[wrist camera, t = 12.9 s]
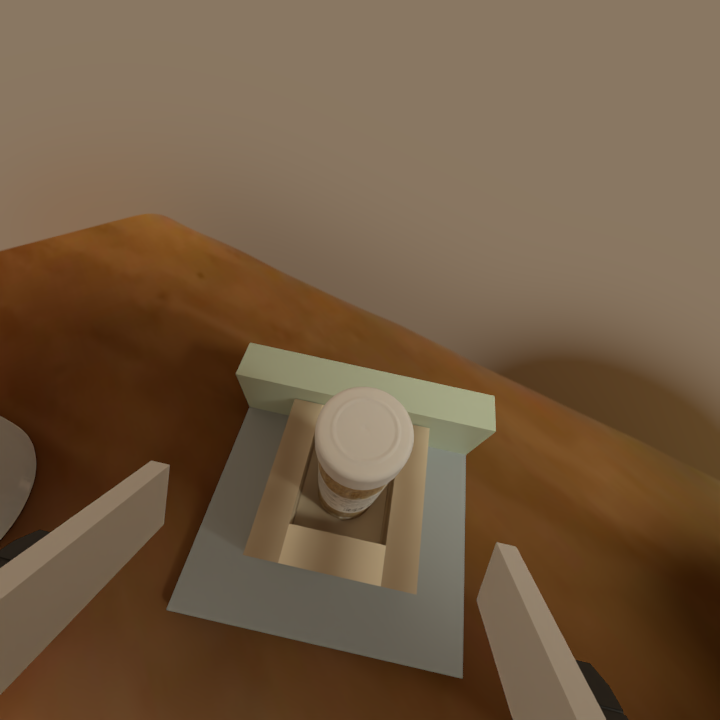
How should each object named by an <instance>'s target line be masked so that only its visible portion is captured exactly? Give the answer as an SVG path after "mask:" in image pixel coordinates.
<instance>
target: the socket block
mask: <svg viewBox="0 0 720 720" xmlns="http://www.w3.org/2000/svg"><path fill="white" fill-rule="evenodd" d="M323 407H324V405H322V404H318V403H313V402H309V401H304V400H300V399H295V400H294V403H293V406H292V409H291V412H290V415H289V418H288V421H287V424H286V427H285V430H284V433H283V436H282V439H281V442H280V445H279V448H278V451H277V454H276V457H275V460H274V463H273V466H272V469H271V472H270V475H269V478H268V481H267V484H266V487H265V490H264V493H263V496H262V499H261V502H260V505H259V508H258V511H257V514H256V517H255V520H254V523H253V526H252V529H251V532H250V535H249V538H248V541H247V544H246V547H245V550H244V553H243V555H245V556H249V557H254V558H258V559H263V560H267V561H271V562H276V563H280V564H284V565H289V566H293V567H298V568H302V569H306V570H311V571H315V572H319V573H324V574H328V575H333V576H337V577H341V578H346V579H350V580H354V581H359V582H363V583H368V584H372V585H376V586H381V587H385V588H389V589H394V590H398V591H403V592H407V593H411V594H416V595H417V582H418V569H419V556H420V544H421V531H422V518H423V506H424V493H425V480H426V467H427V455H428V442H429V429H430V428H426V427H422V426H417V425H413V424H412V425H413V430H414V443H413V448H412V452H411V454H410V457H409V459H408V460H407V462H406V464H405V465H404V467H403V468H402V469H401V471H400V472H399V473H398V475H397V476H396V477H395V478H394V479H393V480H391V481H390V482H389V483H388V484H387V485H386V487H385V488H384V489H383V491H382V492H381V493H380V494H379V496H378V497H377V498H376V499H375V501H374V502H373V503H372V504H371V506H370V507H369V509H368V510H367V511H366V512H365V513H364V514H362V515H361V516H359V517H357V518H353V519H347V520H342V519H338V518H336V517H333V516H332V515H330V514H329V513H328V512H327V511H326V510H325V509H324V508H323V506H322V504H321V502H320V500H319V496H318V458H317V454H316V450H315V426H316V422H317V418H318V416H319V413H320V411H321V410H322V408H323Z"/></svg>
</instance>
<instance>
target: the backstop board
mask: <svg viewBox="0 0 720 720" xmlns="http://www.w3.org/2000/svg"><path fill="white" fill-rule="evenodd" d="M236 376H237V379H238V381H239V383H240V386H241V388H242V390H243V393H244V395H245V397H246V400H247V402H248V404H249V409H248V412H247V414H246V417H245V419H244V421H243V424H242V426H241V429H240V431H239V434H238V436H237V439H236V441H235V443H234V446H233V448H232V451H231V453H230V456H229V458H228V460H227V463H226V465H225V468H224V470H223V473H222V475H221V477H220V480H219V482H218V485H217V487H216V490H215V492H214V494H213V497H212V499H211V502H210V504H209V507H208V509H207V511H206V514H205V516H204V519H203V521H202V524H201V526H200V529H199V531H198V533H197V536H196V538H195V541H194V543H193V546H192V548H191V550H190V553H189V555H188V558H187V560H186V563H185V565H184V567H183V570H182V572H181V575H180V577H179V580H178V582H177V584H176V587H175V589H174V592H173V594H172V597H171V599H170V602H169V604H168V606H167V609H166V610H168V611H172V612H177V613H181V614H185V615H190V616H194V617H198V618H203V619H207V620H211V621H216V622H220V623H224V624H229V625H233V626H237V627H241V628H246V629H250V630H254V631H259V632H263V633H267V634H272V635H276V636H280V637H285V638H289V639H293V640H298V641H302V642H306V643H310V644H315V645H319V646H323V647H328V648H332V649H336V650H341V651H345V652H349V653H354V654H358V655H362V656H367V657H371V658H375V659H380V660H384V661H388V662H392V663H397V664H401V665H405V666H410V667H414V668H418V669H423V670H427V671H431V672H436V673H440V674H444V675H449V676H453V677H457V678H461V679H463V623H464V552H465V481H466V454H468V453H469V452H470V451H471V450H473V449H474V448H475V447H477V446H478V445H479V444H480V443H482V442H483V441H484V440H486V439H487V438H488V437H489V436H491V435H492V434H493V433H494V432H496V422H495V396H492V395H487V394H483V393H478V392H473V391H469V390H464V389H460V388H455V387H451V386H446V385H441V384H437V383H432V382H428V381H423V380H419V379H414V378H410V377H405V376H400V375H396V374H391V373H387V372H382V371H378V370H373V369H369V368H364V367H359V366H355V365H350V364H346V363H341V362H337V361H332V360H327V359H323V358H318V357H314V356H309V355H305V354H300V353H296V352H291V351H286V350H282V349H277V348H273V347H268V346H264V345H259V344H254V343H250V344H249V346H248V348H247V350H246V353H245V355H244V357H243V359H242V361H241V363H240V365H239V368H238V370H237V372H236ZM353 387H372V388H377V389H380V390H382V391H385V392H387V393H388V394H390V395H392V396H393V397H394V398H396V399H397V400H398V401H399V402H400V403H401V404H402V405H403V406H404V408H405V409H406V411H407V413H408V415H409V417H410V419H411V422H412V424H413V425H417V426H422V427H426V428H430V429H429V442H428V455H427V467H426V480H425V493H424V506H423V518H422V531H421V544H420V556H419V569H418V582H417V595H416V594H411V593H407V592H403V591H398V590H394V589H389V588H385V587H381V586H376V585H372V584H368V583H363V582H359V581H354V580H350V579H346V578H341V577H337V576H333V575H328V574H324V573H319V572H315V571H311V570H306V569H302V568H298V567H293V566H289V565H284V564H280V563H276V562H271V561H267V560H263V559H258V558H254V557H249V556H245V555H243V553H244V550H245V547H246V544H247V541H248V538H249V535H250V532H251V529H252V526H253V523H254V520H255V517H256V514H257V511H258V508H259V505H260V502H261V499H262V496H263V493H264V490H265V487H266V484H267V481H268V478H269V475H270V472H271V469H272V466H273V463H274V460H275V457H276V454H277V451H278V448H279V445H280V442H281V439H282V436H283V433H284V430H285V427H286V424H287V421H288V418H289V415H290V412H291V409H292V406H293V403H294V400H295V399H300V400H304V401H309V402H313V403H318V404H322V405H325V404H326V403H327V402H328V401H329V400H330V399H331V398H332V397H333V396H334V395H336V394H337V393H339V392H341V391H343V390H346V389H349V388H353Z"/></svg>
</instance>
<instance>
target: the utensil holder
mask: <svg viewBox="0 0 720 720" xmlns="http://www.w3.org/2000/svg"><path fill="white" fill-rule="evenodd" d="M35 474H36V455H35V450H34V446H33V444H32V442H31V440H30V438H29V437H28V435H27V434H26V433H25V432H24V431H23V430H22V429H21V428H19V427H18V426H16V425H15V424H13V423H12V422H10V421H8V420H7V419H5V418H3V417H2V416H0V540H1V539H2V537H3V536H4V535H5V534H6V532H7V531H8V530H9V529H10V527H11V526H12V525H13V523H14V522H15V520H16V519H17V517H18V516H19V514H20V512H21V511H22V509H23V507H24V505H25V503H26V501H27V499H28V497H29V494H30V492H31V489H32V486H33V483H34V479H35Z"/></svg>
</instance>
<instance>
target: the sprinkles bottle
mask: <svg viewBox="0 0 720 720" xmlns="http://www.w3.org/2000/svg"><path fill="white" fill-rule="evenodd" d="M413 443H414V430H413V425H412V422H411V419H410V417H409V415H408V413H407V411H406V409H405V408H404V406H403V405H402V404H401V403H400V402H399V401H398V400H397V399H396V398H394V397H393V396H392V395H390V394H388V393H387V392H385V391H382V390H380V389H377V388H372V387H353V388H349V389H346V390H343V391H341V392H339V393H337V394H336V395H334V396H333V397H332V398H331V399H330V400H329V401H328V402H327V403H326V404H325V405H324V407H323V408H322V410H321V411H320V413H319V416H318V418H317V422H316V426H315V450H316V454H317V458H318V496H319V500H320V502H321V504H322V506H323V508H324V509H325V510H326V511H327V512H328V513H329V514H330V515H332V516H333V517H336V518H338V519H342V520H347V519H353V518H357V517H359V516H361V515H362V514H364V513H365V512H366V511H367V510H368V509H369V507H370V506H371V504H372V503H373V502H374V501H375V499H376V498H377V497H378V496H379V494H380V493H381V492H382V491H383V489H384V488H385V487H386V485H387V484H388V483H389V482H390V481H391V480H393V479H394V478H395V477H396V476H397V475H398V473H399V472H400V471H401V469H402V468H403V467H404V465H405V464H406V462H407V460H408V459H409V457H410V454H411V452H412V448H413Z"/></svg>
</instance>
